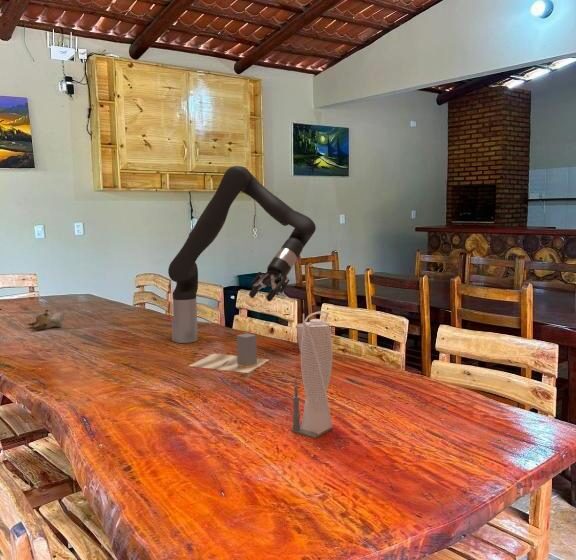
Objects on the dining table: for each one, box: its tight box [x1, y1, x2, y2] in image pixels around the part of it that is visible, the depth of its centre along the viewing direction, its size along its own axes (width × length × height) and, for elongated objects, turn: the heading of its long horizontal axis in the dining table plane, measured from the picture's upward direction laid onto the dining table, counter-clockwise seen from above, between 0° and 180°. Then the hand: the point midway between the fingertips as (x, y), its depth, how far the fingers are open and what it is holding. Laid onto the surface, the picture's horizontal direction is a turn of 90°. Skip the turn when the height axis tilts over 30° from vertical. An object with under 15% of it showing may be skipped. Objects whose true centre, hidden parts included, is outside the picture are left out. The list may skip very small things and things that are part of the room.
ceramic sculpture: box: [27, 309, 65, 330], centre depth 242 cm, size 11×9×15 cm
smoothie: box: [295, 313, 305, 353], centre depth 198 cm, size 6×6×14 cm
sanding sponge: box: [236, 332, 258, 368], centre depth 175 cm, size 4×4×10 cm
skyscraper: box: [290, 310, 333, 439], centre depth 126 cm, size 8×8×28 cm
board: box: [188, 353, 270, 379], centre depth 179 cm, size 22×16×2 cm
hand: (259, 298), depth 188 cm, fingers open, 8 cm apart
